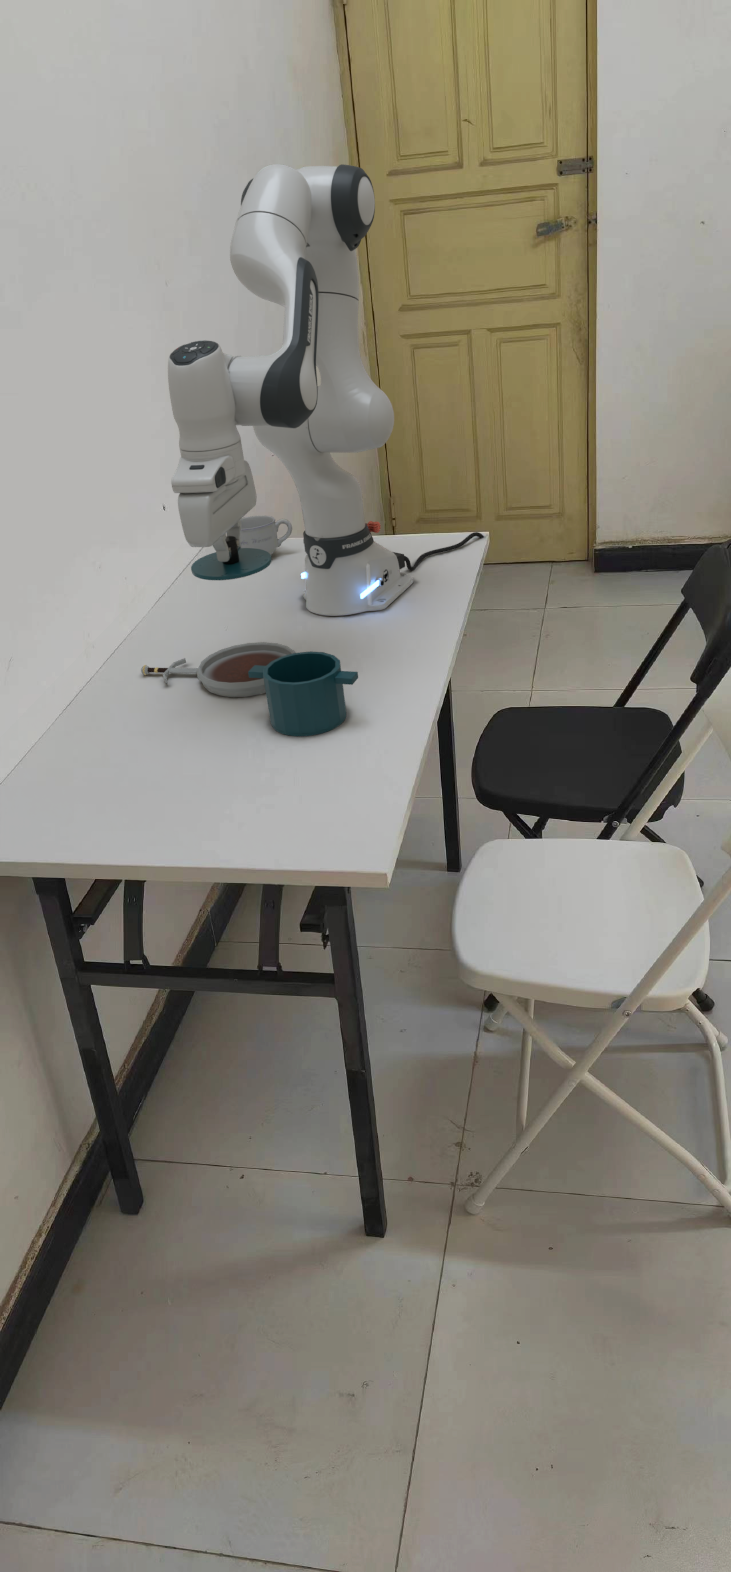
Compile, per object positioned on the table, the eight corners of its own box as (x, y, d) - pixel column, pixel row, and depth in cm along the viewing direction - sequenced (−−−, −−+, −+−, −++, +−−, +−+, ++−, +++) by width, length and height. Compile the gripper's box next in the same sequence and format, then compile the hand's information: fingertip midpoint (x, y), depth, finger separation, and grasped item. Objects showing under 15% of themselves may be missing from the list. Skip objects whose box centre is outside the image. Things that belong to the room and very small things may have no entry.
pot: (274, 698, 176) (266, 648, 172) (373, 705, 170) (368, 654, 166) (242, 731, 167) (233, 680, 163) (346, 740, 161) (339, 687, 157)
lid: (214, 554, 176) (209, 524, 173) (285, 556, 172) (280, 525, 169) (178, 583, 166) (171, 552, 164) (251, 585, 162) (246, 553, 160)
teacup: (224, 567, 234) (218, 530, 230) (238, 550, 243) (232, 514, 239) (288, 564, 231) (283, 527, 227) (299, 547, 240) (295, 510, 236)
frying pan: (159, 641, 195) (311, 639, 187) (163, 656, 197) (313, 655, 189) (117, 683, 181) (279, 683, 173) (121, 700, 183) (282, 700, 175)
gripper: (220, 444, 170) (235, 532, 177) (165, 485, 153) (184, 580, 161) (258, 443, 168) (272, 532, 175) (207, 483, 152) (225, 580, 159)
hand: (230, 555), depth 168 cm, fingers closed on lid, 2 cm apart
